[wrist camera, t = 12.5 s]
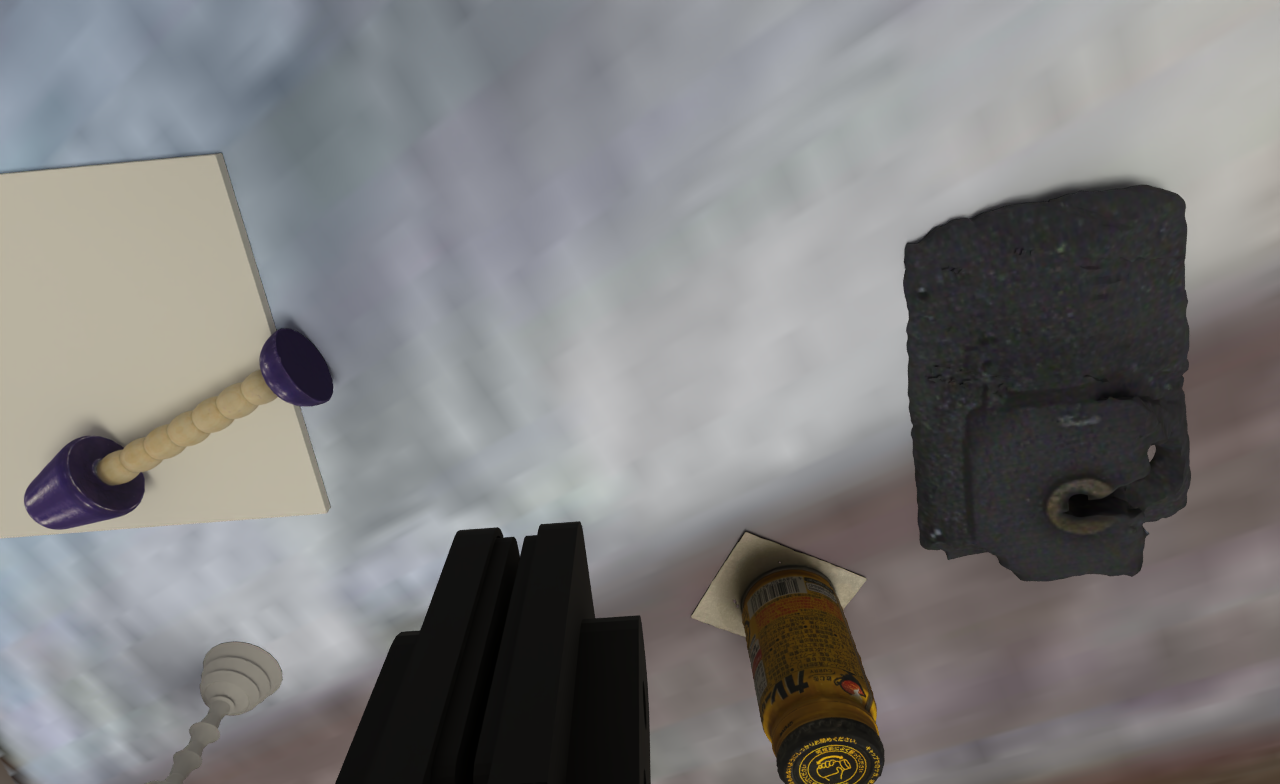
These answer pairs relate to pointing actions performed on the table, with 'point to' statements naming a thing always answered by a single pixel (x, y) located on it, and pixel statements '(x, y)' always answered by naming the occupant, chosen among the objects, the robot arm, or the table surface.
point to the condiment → (800, 660)
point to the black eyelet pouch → (1050, 380)
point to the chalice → (226, 697)
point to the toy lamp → (169, 439)
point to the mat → (139, 340)
